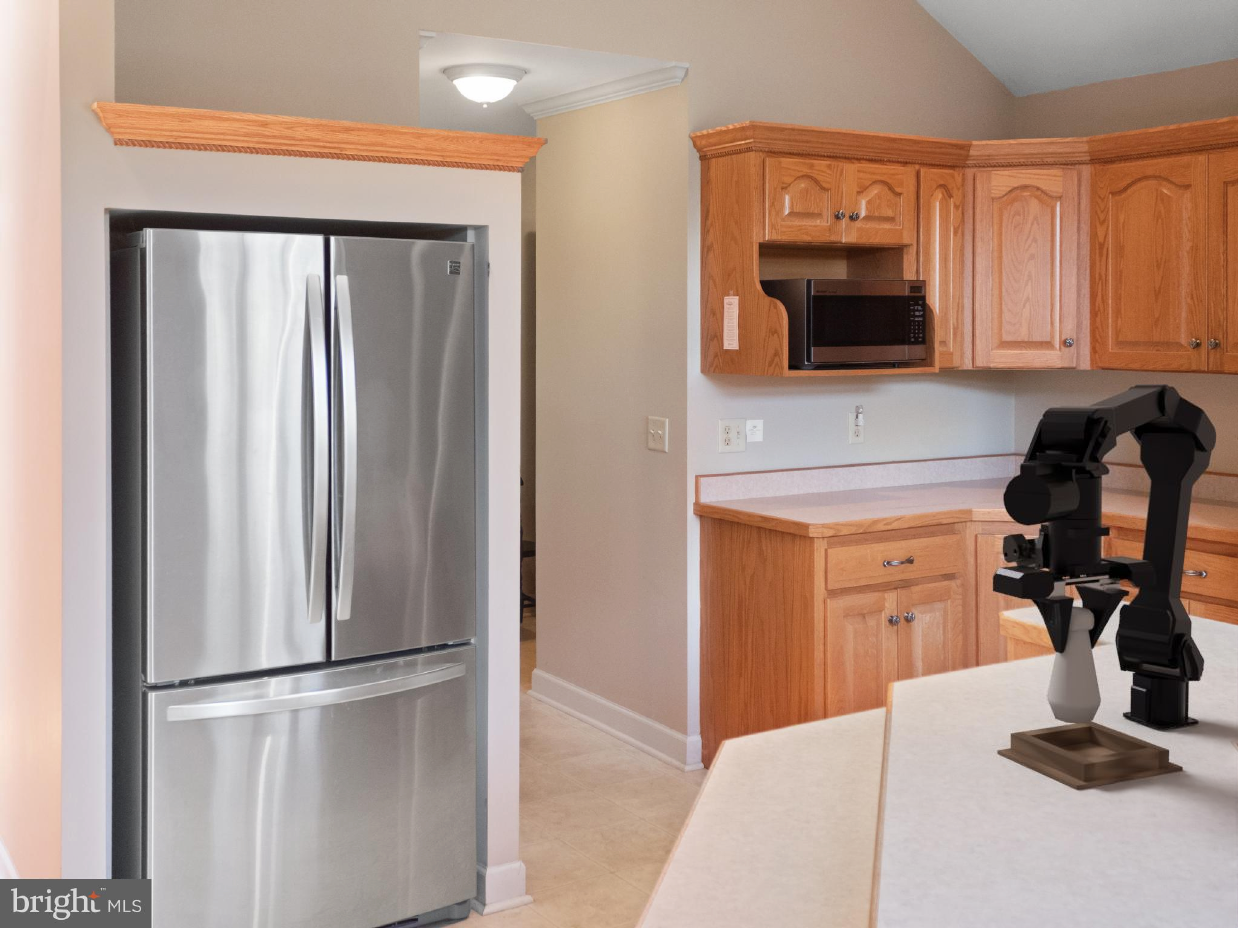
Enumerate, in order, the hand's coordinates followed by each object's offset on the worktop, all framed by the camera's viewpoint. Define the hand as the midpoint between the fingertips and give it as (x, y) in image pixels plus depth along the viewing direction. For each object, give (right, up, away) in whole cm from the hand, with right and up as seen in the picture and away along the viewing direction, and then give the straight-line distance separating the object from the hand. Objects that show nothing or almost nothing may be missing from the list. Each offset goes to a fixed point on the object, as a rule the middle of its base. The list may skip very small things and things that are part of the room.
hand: (1074, 650), depth 133 cm
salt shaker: (0, -8, +1) cm, 8 cm away
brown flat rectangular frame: (+2, -13, 0) cm, 13 cm away
